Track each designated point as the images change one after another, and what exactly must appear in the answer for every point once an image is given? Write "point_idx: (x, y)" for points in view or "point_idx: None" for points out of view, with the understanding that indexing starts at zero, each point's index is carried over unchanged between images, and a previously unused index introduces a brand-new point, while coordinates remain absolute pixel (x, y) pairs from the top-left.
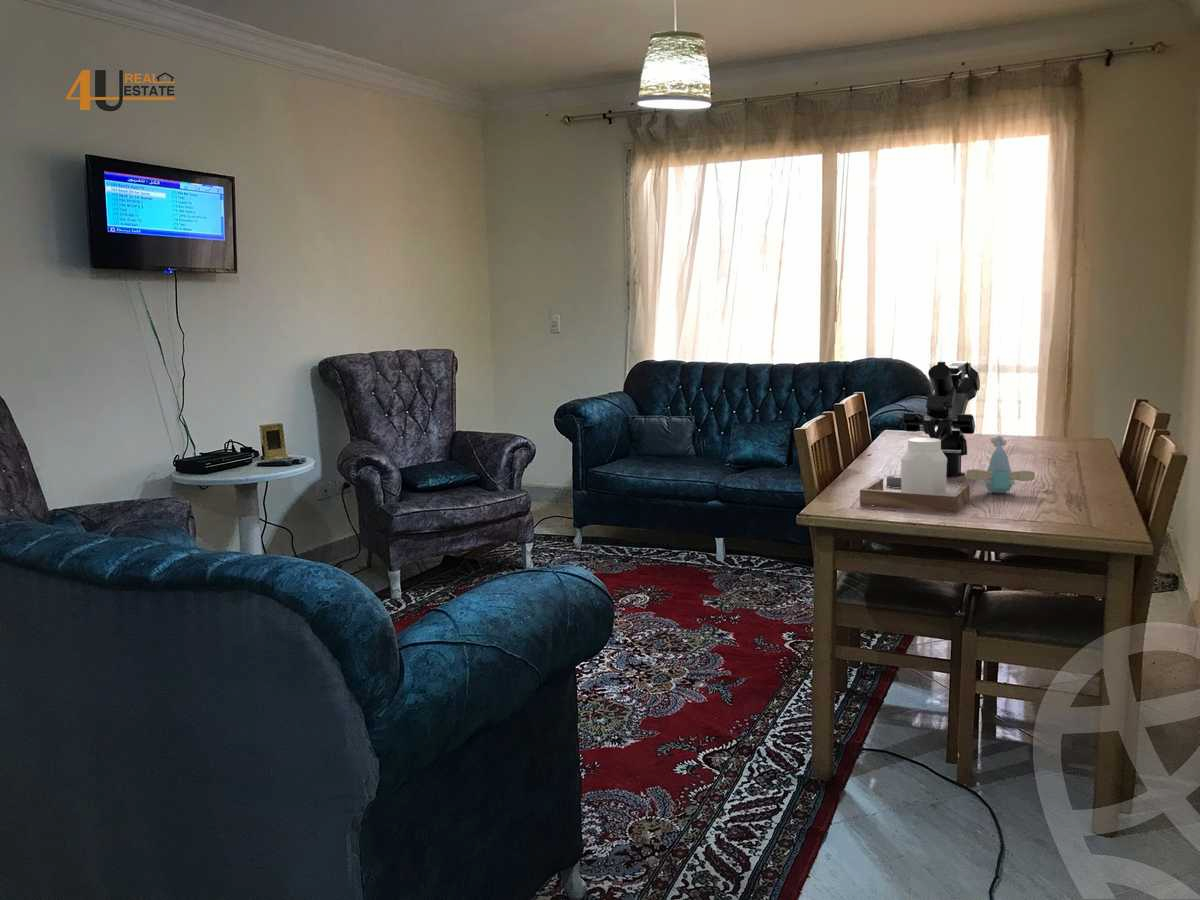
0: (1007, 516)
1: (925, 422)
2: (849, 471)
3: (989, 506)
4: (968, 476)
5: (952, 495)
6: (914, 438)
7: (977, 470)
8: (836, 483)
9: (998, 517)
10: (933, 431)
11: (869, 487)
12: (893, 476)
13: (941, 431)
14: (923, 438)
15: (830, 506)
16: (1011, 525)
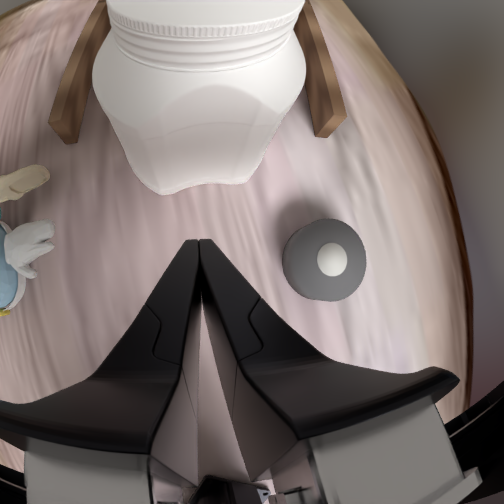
0: (25, 48)
1: (409, 373)
2: (456, 395)
3: (33, 95)
4: (42, 176)
5: (105, 2)
6: (284, 1)
7: (6, 175)
8: (446, 230)
9: (40, 36)
10: (228, 334)
11: (305, 17)
12: (349, 268)
13: (121, 345)
14: (226, 3)
15: (337, 16)
16: (37, 14)
